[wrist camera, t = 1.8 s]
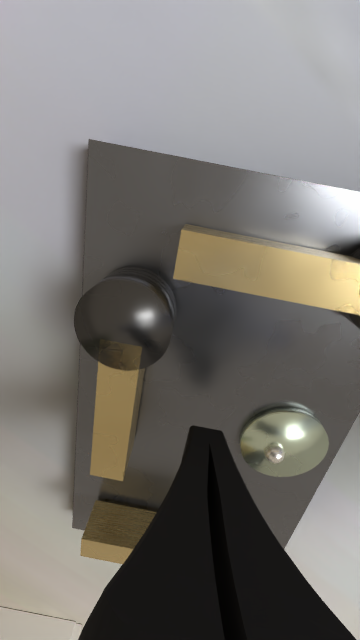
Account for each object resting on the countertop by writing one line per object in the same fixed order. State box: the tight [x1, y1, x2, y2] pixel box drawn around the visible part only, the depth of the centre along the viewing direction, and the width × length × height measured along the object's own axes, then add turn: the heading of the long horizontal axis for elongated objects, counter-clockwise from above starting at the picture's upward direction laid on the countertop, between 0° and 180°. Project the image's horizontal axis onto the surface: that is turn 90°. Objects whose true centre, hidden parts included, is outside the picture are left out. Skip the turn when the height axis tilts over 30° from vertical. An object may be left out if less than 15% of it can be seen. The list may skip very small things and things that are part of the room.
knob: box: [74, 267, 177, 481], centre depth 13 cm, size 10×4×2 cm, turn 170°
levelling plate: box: [72, 139, 360, 549], centre depth 15 cm, size 14×23×2 cm, turn 170°
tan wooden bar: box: [173, 224, 360, 329], centre depth 10 cm, size 10×4×2 cm, turn 80°
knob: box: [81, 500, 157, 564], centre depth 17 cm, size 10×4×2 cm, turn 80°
